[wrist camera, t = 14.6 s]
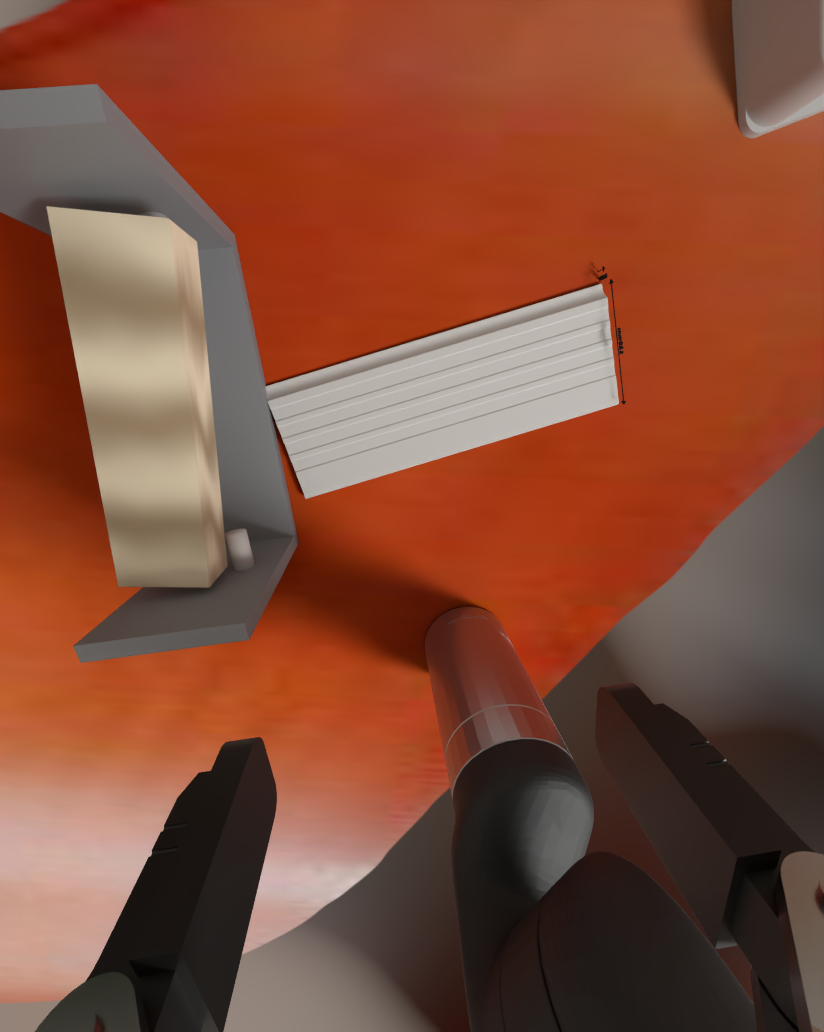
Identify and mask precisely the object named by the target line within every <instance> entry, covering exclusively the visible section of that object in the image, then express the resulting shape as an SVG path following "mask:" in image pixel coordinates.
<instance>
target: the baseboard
mask: <svg viewBox="0 0 824 1032" xmlns="http://www.w3.org/2000/svg"><path fill="white" fill-rule="evenodd" d="M604 269H605V268H604V267H603V269H602V270H603V272H604ZM600 271H601V270H600ZM598 272H599V271H598ZM603 276H604V277H603ZM602 278H603V279H605V278H607V273H606V274H605V275H602V276H600V277H599V281H601V280H603V279H602ZM612 283H613V281H612V279H611V280H610V283H609V284H611V289H612ZM612 298H613V290H612ZM613 308H614V300H613ZM614 318H615V309H614ZM615 327H616V319H615ZM617 330H619V331H617ZM617 332H619V333H618V334H621V331H620V328H618V329H616V337H617ZM618 336H620V337H618V338H617V346H618V341H620V342H619V345H622V344H623V342H622V341H621V340H622V339H621V335H618ZM618 339H620V340H618ZM620 343H621V344H620ZM621 348H622V349H623V346H619V348H618V356H619V350H620V354H621V353H622V354H623V351H621ZM619 366H620V358H619ZM620 375H621V367H620ZM621 385H622V377H621ZM266 392H267V402H268V404H269V407H270V409H271V411H272V414H273V416H274V419H275V422H276V425H277V427H278V429H279V431H280V434H281V436H282V440H283V442H284V444H285V447H286V449H287V452H288V454H289V457H290V460H291V462H292V464H293V467H294V469H295V473H296V475H297V478H298V480H299V483H300V485H301V488H302V490H303V493H304V496H305V498H306V499H307V498H310V497H314V496H317V495H320V494H323V493H327V492H330V491H333V490H337V489H340V488H343V487H347V486H350V485H353V484H357V483H360V482H363V481H366V480H370V479H373V478H376V477H380V476H383V475H386V474H390V473H393V472H396V471H399V470H403V469H406V468H409V467H413V466H416V465H419V464H423V463H426V462H429V461H433V460H436V459H439V458H442V457H446V456H449V455H452V454H456V453H459V452H462V451H466V450H469V449H472V448H476V447H479V446H482V445H485V444H489V443H492V442H495V441H499V440H502V439H505V438H509V437H512V436H515V435H518V434H522V433H525V432H528V431H532V430H535V429H538V428H542V427H545V426H548V425H552V424H555V423H558V422H561V421H565V420H568V419H571V418H575V417H578V416H581V415H585V414H588V413H591V412H595V411H598V410H601V409H604V408H608V407H611V406H614V405H618V404H619V401H618V392H617V383H616V375H615V369H614V357H613V351H612V339H611V333H610V320H609V314H608V299H607V297H606V295H605V294H604V292H603V289H602V284H599V285H595V286H592V287H589V288H586V289H582V290H579V291H576V292H573V293H569V294H566V295H563V296H559V297H556V298H553V299H550V300H546V301H543V302H540V303H537V304H533V305H530V306H527V307H523V308H520V309H517V310H514V311H510V312H507V313H504V314H501V315H497V316H494V317H491V318H487V319H484V320H481V321H478V322H474V323H471V324H468V325H465V326H461V327H458V328H455V329H451V330H448V331H445V332H442V333H438V334H435V335H432V336H429V337H425V338H422V339H419V340H415V341H412V342H409V343H406V344H402V345H399V346H396V347H393V348H389V349H386V350H383V351H380V352H376V353H373V354H370V355H366V356H363V357H360V358H357V359H353V360H350V361H347V362H344V363H340V364H337V365H334V366H330V367H327V368H324V369H321V370H317V371H314V372H311V373H308V374H304V375H301V376H298V377H294V378H291V379H288V380H285V381H281V382H278V383H275V384H272V385H268V386H266ZM622 394H623V387H622ZM625 402H626V401H624V396H623V401H622V403H623V404H625Z"/></svg>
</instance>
